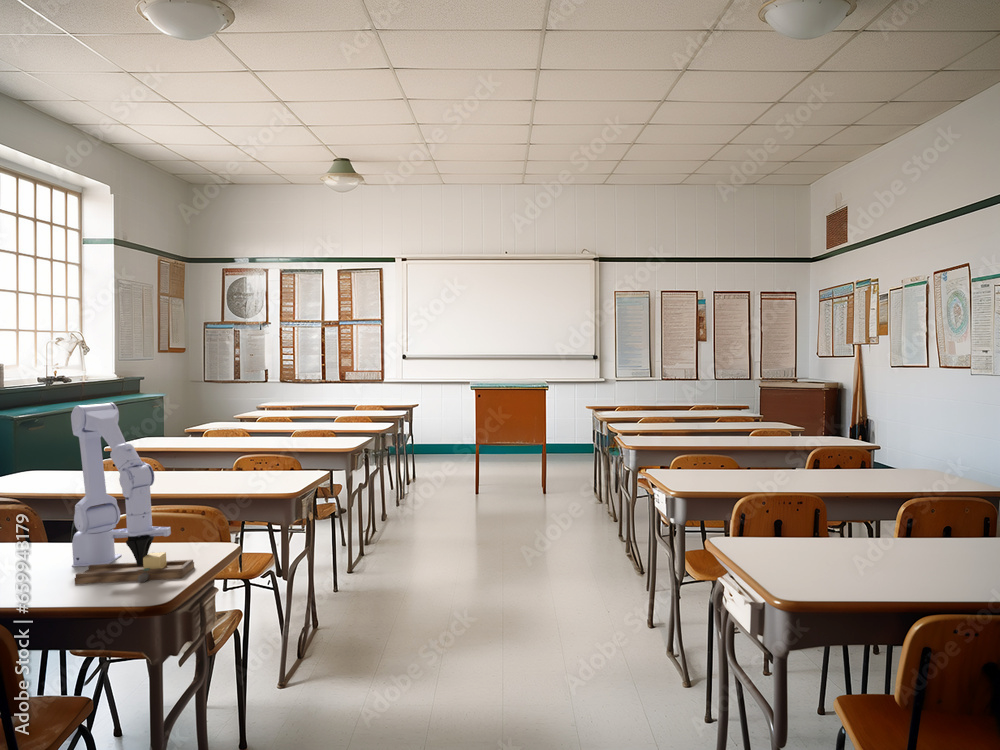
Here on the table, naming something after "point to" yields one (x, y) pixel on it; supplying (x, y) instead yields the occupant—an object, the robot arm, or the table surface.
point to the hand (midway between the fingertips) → (141, 564)
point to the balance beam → (133, 572)
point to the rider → (155, 560)
